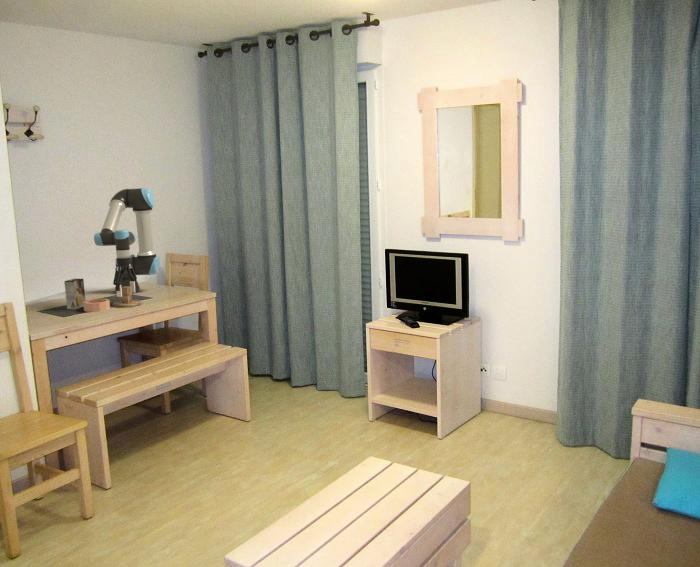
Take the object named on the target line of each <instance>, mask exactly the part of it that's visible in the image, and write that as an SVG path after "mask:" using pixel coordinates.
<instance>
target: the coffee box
mask: <svg viewBox="0 0 700 567" xmlns="http://www.w3.org/2000/svg"><path fill="white" fill-rule="evenodd" d="M64 290H65V299H66V301H65V302H66V309H67V310H76V309H77V310H78V309H80V308H84V305H83V302H84V301H87V300H86V292H85V281H84V278H71V279H67V280H64Z"/></svg>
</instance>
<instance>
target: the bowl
mask: <svg viewBox="0 0 700 567" xmlns="http://www.w3.org/2000/svg"><path fill="white" fill-rule="evenodd" d="M83 305H84V307H83V311H84V312H87V313H88V312H89V313H96V312H97V313H98V312H105V311H108V310H110V309H111V307H110V306H111V301H110V299H109V298H95V299H94V298H93V299H87V300H86V301H84V302H83Z"/></svg>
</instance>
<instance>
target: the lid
mask: <svg viewBox="0 0 700 567" xmlns="http://www.w3.org/2000/svg"><path fill="white" fill-rule="evenodd" d="M121 289H122V297H121V300H118V301H114V302H113V303H112V305H111V306H113V307H112V308H127V307H132V308H134V306H135V307H139V306H141V305H143V304H142V303H143V301H142V300H139V299H133V297H132V296H133V295H132V294H133V293H132V292H131V287H128V286H125V287H121Z"/></svg>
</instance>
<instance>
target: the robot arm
mask: <svg viewBox="0 0 700 567" xmlns="http://www.w3.org/2000/svg"><path fill="white" fill-rule="evenodd" d="M155 202H156V200H155V195H154V193H153V191H152V190H151V189H149V188H142V187H141V188H124V189H121V190H119V191H118V192H117V193H115V194H114V195H113V196H112V198H111V199H110V201H109V204H108V206H109V208H108V211H107V214H106V217H105V219H104V222H103V225H102V228H101V231H100V232H96V233H95V234H94V236H93V242H94V243H95V244H94V245H96V246H97V247H102V246H103V247H105V246H106V247H108V246H115V256H116V258H115V270H114V272H115V273H114V278H113V282H112V284H113V285H114V286H115V288H114V294H116V297H118V298H119V297H120V298H122V289H121V287H125V286H128V287H131V292H132V294H134V293H136V294H137V293H139V292H141V287H140V285H139V283H138V282H139V281H138V277H137V276H152V275H153V276H155V275H157V274H158V273H159V271H160V266H161V260H160V256H158V255H157V252H156V251H154V244H153V243H154V242H153V232H152V221H151V212H152V211H153V208H154V207H155V206H156V205H155V204H156V203H155ZM126 209H132V212H133V213H134V214H135V219H136V221H135V223H136V233H137V237H136V234H135V233H134V232H133V231H129V230H128V229H117V228H118V224H119V222H120V219H121V216H122V214H123V212H124V211H125V210H126ZM136 240H137V241H138V242H137V244H138V252H137V254H136V255H135V254H133V253H132V254H131V247H130V246H131V245H133V244H134V243H136Z"/></svg>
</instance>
